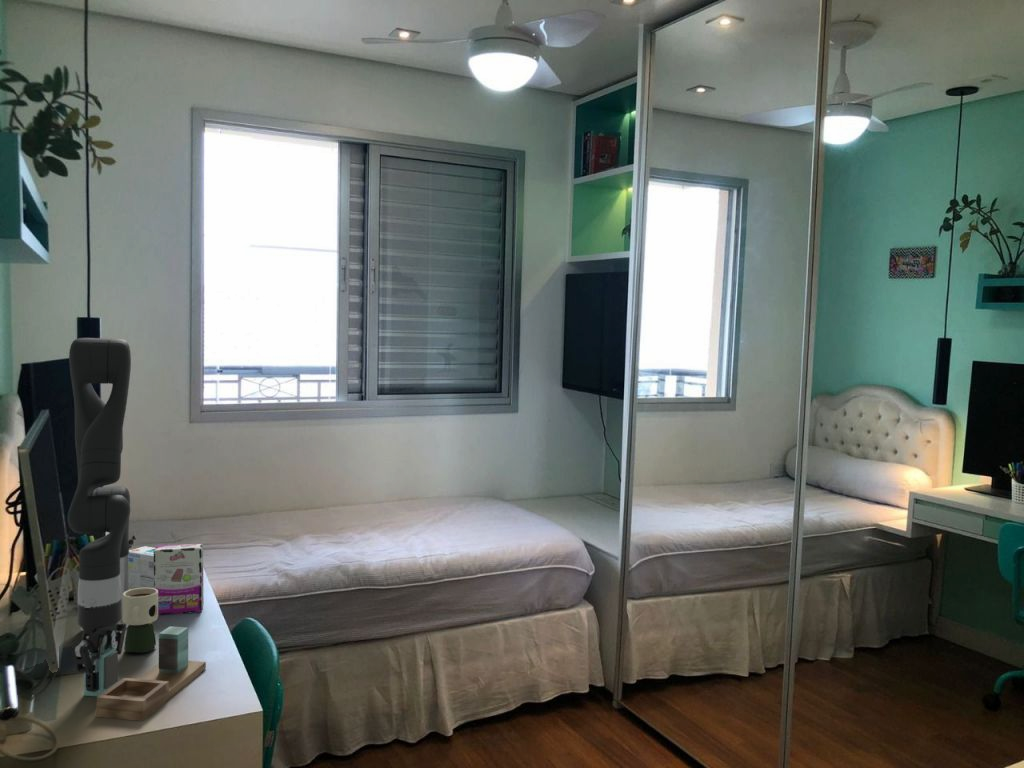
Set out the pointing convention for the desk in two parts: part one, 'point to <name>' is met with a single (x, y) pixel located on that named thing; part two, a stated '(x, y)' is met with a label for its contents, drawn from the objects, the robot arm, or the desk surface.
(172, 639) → the wooden tray with block
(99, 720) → the desk surface
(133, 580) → the light bulb box
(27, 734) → the desk surface
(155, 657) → the desk surface
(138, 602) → the character mug
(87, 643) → the robot arm
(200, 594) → the candy bar box
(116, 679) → the teal rectangular prism
